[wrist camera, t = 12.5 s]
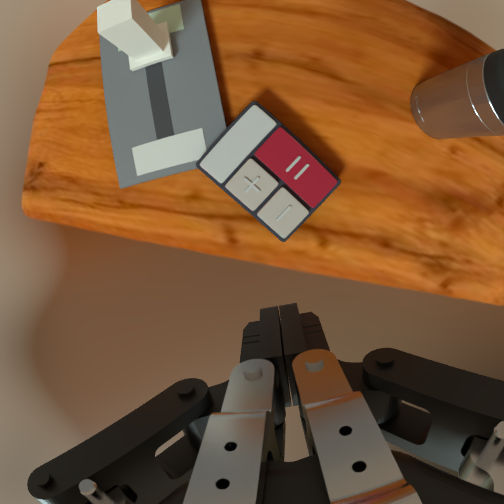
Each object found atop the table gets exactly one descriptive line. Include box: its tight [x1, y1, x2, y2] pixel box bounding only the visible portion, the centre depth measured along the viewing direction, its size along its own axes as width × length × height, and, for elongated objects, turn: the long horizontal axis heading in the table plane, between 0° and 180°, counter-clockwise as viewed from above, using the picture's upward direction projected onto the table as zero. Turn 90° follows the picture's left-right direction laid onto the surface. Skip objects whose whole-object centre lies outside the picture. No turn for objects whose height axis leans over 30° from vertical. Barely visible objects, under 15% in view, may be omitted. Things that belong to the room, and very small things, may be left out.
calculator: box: [196, 101, 341, 242], centre depth 37 cm, size 11×4×15 cm
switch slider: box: [97, 0, 174, 71], centre depth 26 cm, size 6×6×12 cm
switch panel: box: [99, 0, 227, 189], centre depth 35 cm, size 16×26×2 cm, turn 11°
